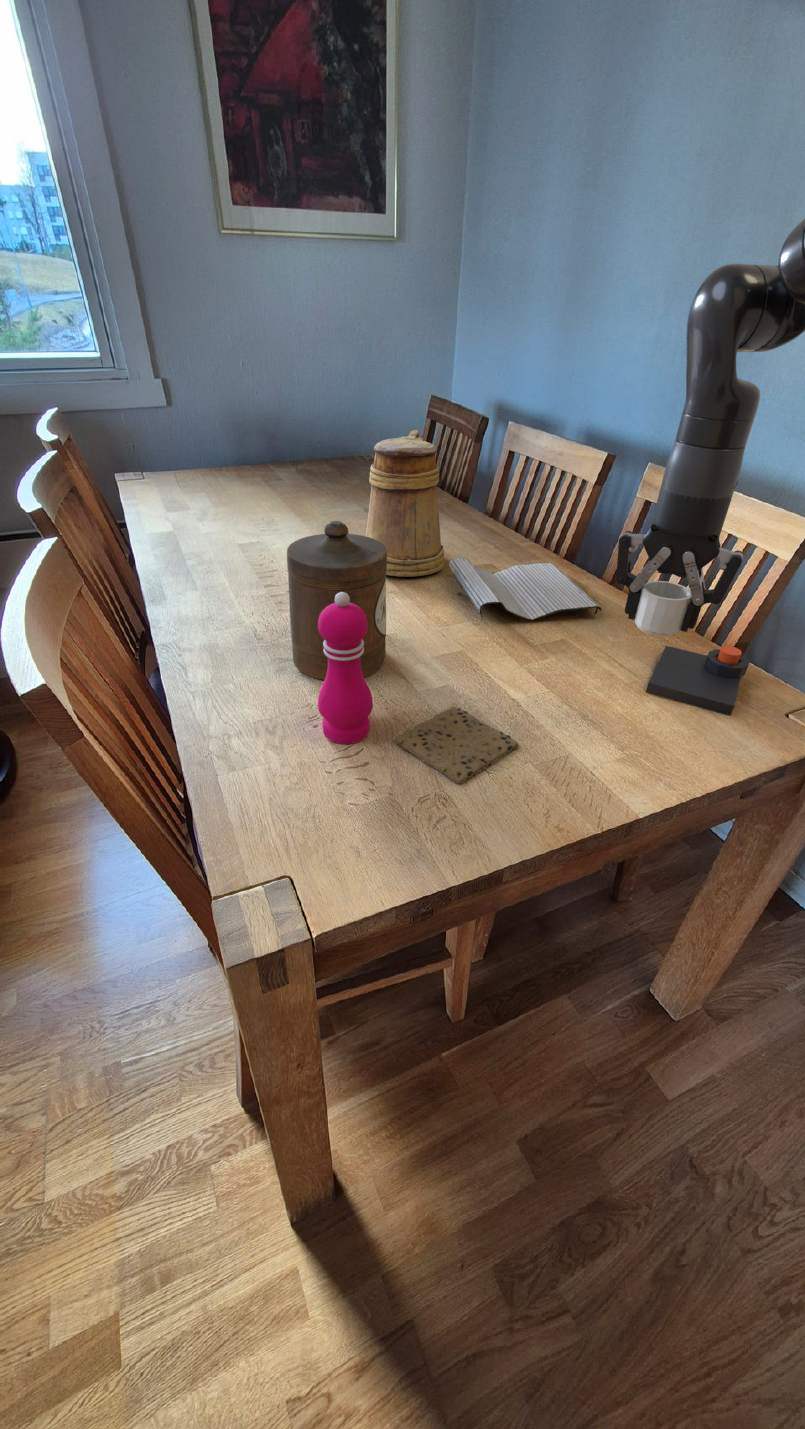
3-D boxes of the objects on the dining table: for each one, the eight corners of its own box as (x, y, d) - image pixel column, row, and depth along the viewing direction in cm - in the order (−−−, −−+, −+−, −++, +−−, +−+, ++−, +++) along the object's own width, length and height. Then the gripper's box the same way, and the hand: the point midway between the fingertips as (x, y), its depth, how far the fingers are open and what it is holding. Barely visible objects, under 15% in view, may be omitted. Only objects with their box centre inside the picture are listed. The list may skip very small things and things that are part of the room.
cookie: (452, 707, 90) (453, 702, 89) (520, 746, 83) (521, 740, 82) (391, 740, 83) (391, 734, 82) (458, 785, 76) (459, 779, 75)
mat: (600, 619, 115) (606, 596, 113) (477, 627, 112) (480, 603, 109) (554, 572, 134) (557, 551, 131) (447, 577, 130) (449, 555, 128)
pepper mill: (308, 728, 85) (298, 590, 73) (350, 709, 89) (347, 576, 78) (341, 753, 80) (336, 611, 69) (383, 732, 85) (385, 594, 73)
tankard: (354, 577, 129) (351, 448, 115) (371, 539, 148) (370, 425, 134) (441, 583, 128) (450, 453, 114) (447, 544, 147) (454, 429, 133)
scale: (743, 674, 100) (750, 655, 98) (733, 716, 90) (741, 696, 88) (663, 654, 105) (668, 635, 103) (645, 692, 95) (651, 672, 93)
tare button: (739, 658, 98) (742, 649, 97) (737, 667, 96) (740, 657, 95) (718, 653, 99) (722, 644, 98) (716, 661, 97) (719, 651, 96)
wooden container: (402, 667, 99) (407, 529, 87) (317, 691, 93) (309, 546, 80) (358, 630, 109) (356, 502, 97) (278, 649, 103) (265, 515, 90)
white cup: (684, 623, 80) (695, 587, 77) (677, 641, 76) (689, 604, 73) (638, 613, 82) (647, 577, 80) (628, 630, 78) (638, 593, 75)
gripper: (624, 483, 69) (593, 621, 79) (767, 505, 64) (715, 650, 73) (638, 470, 75) (607, 600, 84) (770, 488, 69) (722, 625, 79)
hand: (658, 622), depth 79 cm, fingers closed on white cup, 6 cm apart
